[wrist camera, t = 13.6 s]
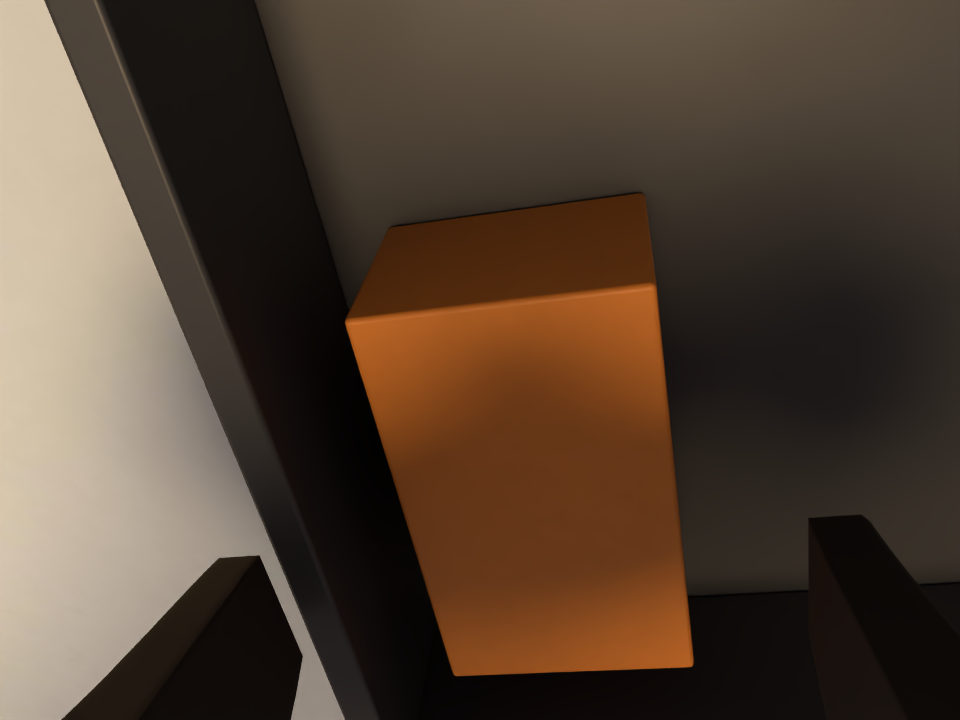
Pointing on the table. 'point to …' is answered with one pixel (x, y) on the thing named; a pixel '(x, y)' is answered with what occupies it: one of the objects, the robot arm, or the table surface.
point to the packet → (531, 434)
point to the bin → (550, 181)
